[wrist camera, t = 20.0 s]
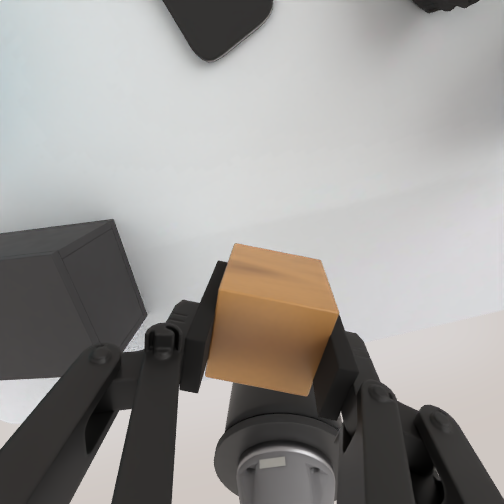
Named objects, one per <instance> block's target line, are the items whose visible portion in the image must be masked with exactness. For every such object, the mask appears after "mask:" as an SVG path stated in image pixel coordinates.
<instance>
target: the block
mask: <svg viewBox="0 0 504 504" xmlns="http://www.w3.org/2000/svg"><path fill="white" fill-rule="evenodd" d="M338 315H339V311H338V308H337V305H336V302H335V299H334V296H333V293H332V291H331V288H330V285H329V282H328V279H327V276H326V273H325V271H324V268H323V265H322V262H321V260H317V259H312V258H307V257H302V256H297V255H292V254H287V253H282V252H277V251H272V250H267V249H262V248H257V247H252V246H247V245H242V244H237V243H235V244H234V246H233V249H232V252H231V255H230V258H229V261H228V264H227V266H226V269H225V272H224V275H223V278H222V281H221V284H220V287H219V290H218V296H217V302H216V308H215V316H214V323H213V329H212V335H211V342H210V348H209V354H208V360H207V365H206V372H205V376H206V377H209V378H215V379H220V380H225V381H230V382H235V383H240V384H245V385H250V386H255V387H261V388H266V389H271V390H276V391H281V392H286V393H291V394H296V395H302V396H308V393H309V391H310V388H311V386H312V383H313V379H314V376H315V374H316V371H317V368H318V366H319V363H320V361H321V358H322V355H323V353H324V350H325V348H326V345H327V342H328V340H329V337H330V335H331V333H332V331H333V328H334V326H335V323H336V320H337V318H338Z"/></svg>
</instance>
